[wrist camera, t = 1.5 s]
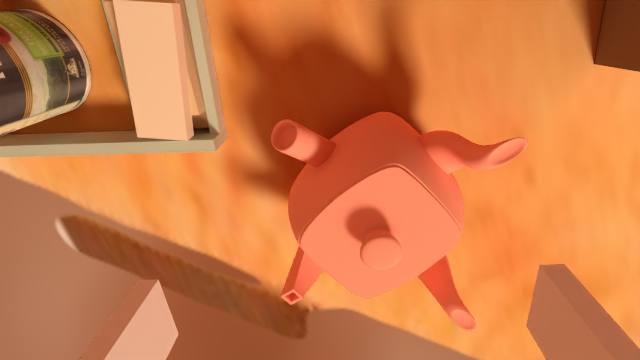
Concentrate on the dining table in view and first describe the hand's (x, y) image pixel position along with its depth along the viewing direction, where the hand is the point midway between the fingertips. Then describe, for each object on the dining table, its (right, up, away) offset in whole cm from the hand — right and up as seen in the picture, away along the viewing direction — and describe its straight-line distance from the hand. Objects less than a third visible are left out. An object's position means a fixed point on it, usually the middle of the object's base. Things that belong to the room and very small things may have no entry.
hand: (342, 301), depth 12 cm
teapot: (+5, +5, +27) cm, 28 cm away
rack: (-24, +16, +23) cm, 37 cm away
